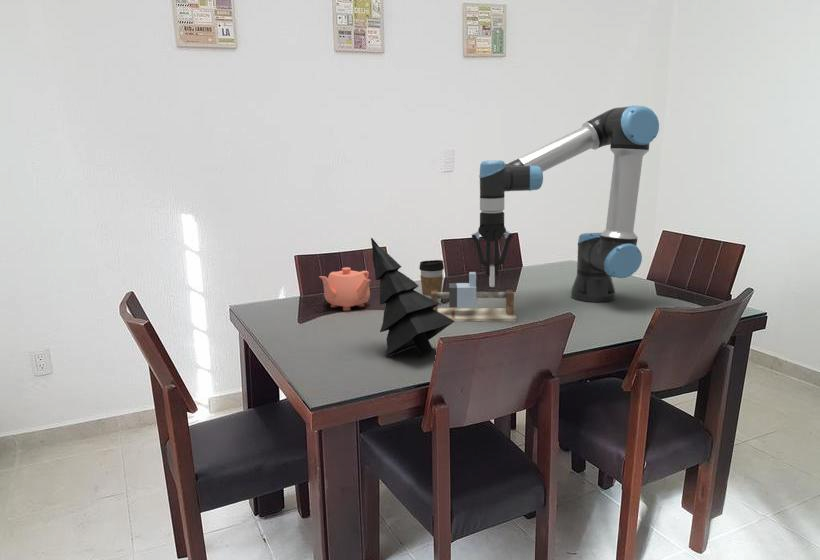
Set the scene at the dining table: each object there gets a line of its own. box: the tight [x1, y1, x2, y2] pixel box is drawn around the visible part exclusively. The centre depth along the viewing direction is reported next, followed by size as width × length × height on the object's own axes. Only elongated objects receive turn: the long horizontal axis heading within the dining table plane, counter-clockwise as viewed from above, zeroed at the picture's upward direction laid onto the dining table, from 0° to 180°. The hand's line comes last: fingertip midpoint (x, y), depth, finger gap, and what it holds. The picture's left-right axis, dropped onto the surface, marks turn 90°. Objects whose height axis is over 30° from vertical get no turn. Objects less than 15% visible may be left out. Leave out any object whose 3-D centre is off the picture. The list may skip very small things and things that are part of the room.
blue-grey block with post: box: [456, 271, 477, 308], centre depth 198 cm, size 6×6×10 cm
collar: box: [448, 282, 458, 308], centre depth 199 cm, size 2×6×6 cm, turn 178°
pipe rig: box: [431, 289, 518, 323], centre depth 199 cm, size 27×12×8 cm, turn 87°
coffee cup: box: [418, 259, 445, 306], centre depth 215 cm, size 8×8×15 cm
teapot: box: [319, 266, 371, 312], centre depth 213 cm, size 16×17×14 cm
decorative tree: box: [370, 237, 455, 357], centre depth 167 cm, size 15×15×35 cm
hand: (491, 285), depth 198 cm, fingers closed
